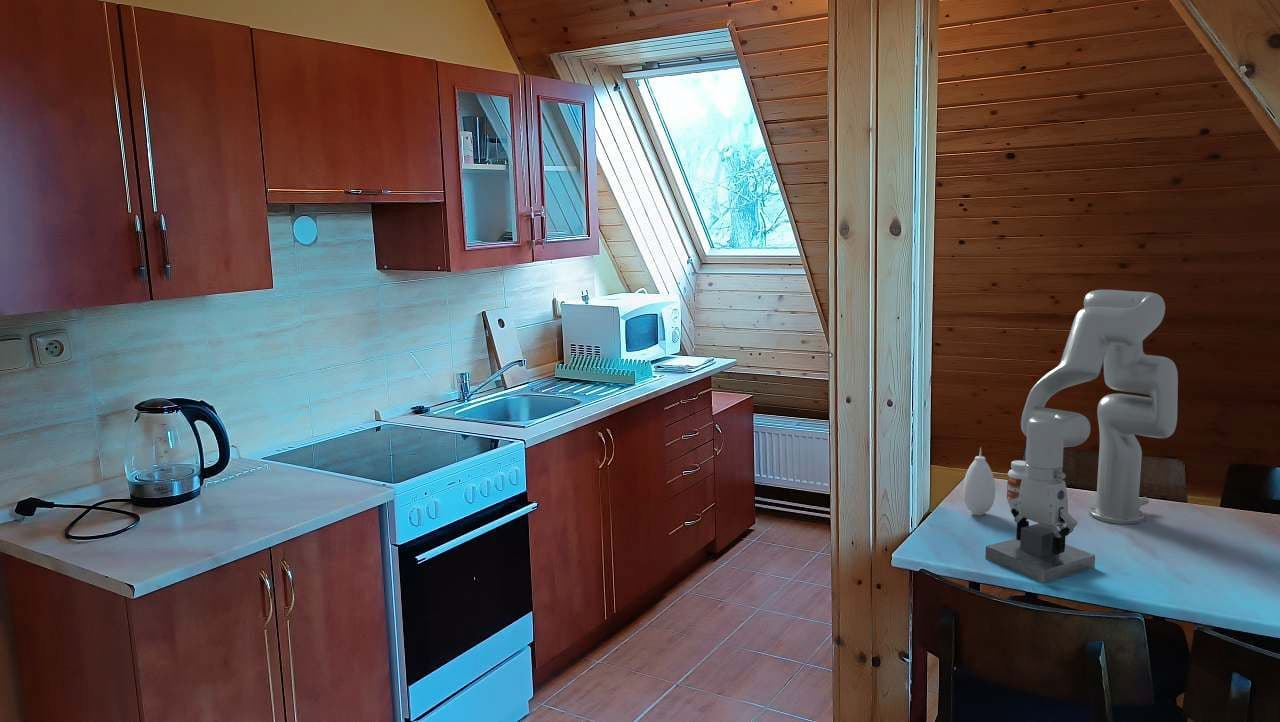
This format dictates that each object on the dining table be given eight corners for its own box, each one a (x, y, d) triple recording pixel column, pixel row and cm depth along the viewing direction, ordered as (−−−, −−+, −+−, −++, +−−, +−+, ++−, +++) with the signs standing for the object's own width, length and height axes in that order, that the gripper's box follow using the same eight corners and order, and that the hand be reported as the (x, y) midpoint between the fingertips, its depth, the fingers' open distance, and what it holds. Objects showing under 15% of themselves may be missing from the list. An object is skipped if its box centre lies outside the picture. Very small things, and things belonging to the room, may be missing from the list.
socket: (1034, 545, 219) (1035, 529, 218) (1094, 568, 205) (1095, 551, 204) (985, 558, 212) (985, 542, 211) (1043, 583, 198) (1044, 566, 197)
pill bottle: (1003, 503, 248) (1004, 463, 246) (1010, 497, 253) (1012, 458, 251) (1027, 508, 244) (1029, 467, 242) (1034, 501, 249) (1036, 461, 247)
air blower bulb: (961, 508, 245) (963, 442, 242) (992, 510, 243) (995, 443, 240) (963, 518, 238) (965, 450, 235) (995, 520, 236) (998, 451, 233)
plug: (1038, 554, 212) (1039, 523, 211) (1059, 562, 207) (1060, 530, 206) (1019, 559, 209) (1020, 528, 208) (1040, 568, 205) (1041, 535, 203)
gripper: (1089, 479, 199) (1085, 555, 202) (1023, 460, 214) (1020, 531, 217) (1065, 485, 195) (1061, 562, 198) (1000, 465, 211) (997, 537, 214)
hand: (1039, 545), depth 208 cm, fingers open, 9 cm apart
